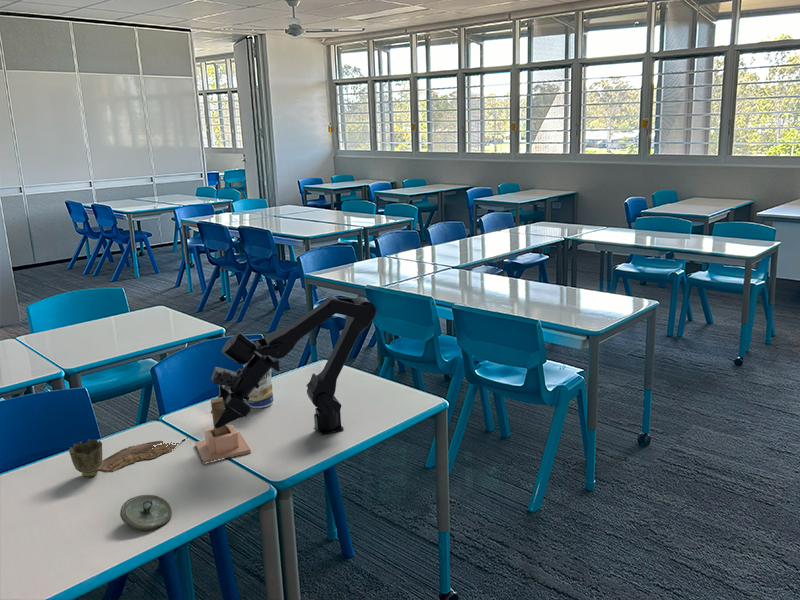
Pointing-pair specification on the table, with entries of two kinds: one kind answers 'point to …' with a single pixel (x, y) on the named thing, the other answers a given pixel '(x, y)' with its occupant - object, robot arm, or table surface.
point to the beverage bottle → (262, 392)
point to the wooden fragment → (134, 455)
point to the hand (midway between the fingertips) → (213, 420)
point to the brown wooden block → (218, 415)
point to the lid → (145, 512)
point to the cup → (87, 457)
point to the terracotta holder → (222, 445)
